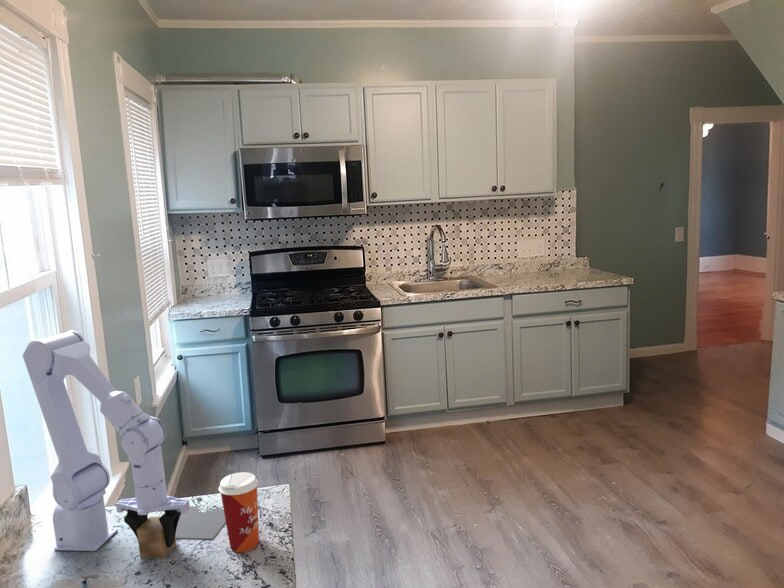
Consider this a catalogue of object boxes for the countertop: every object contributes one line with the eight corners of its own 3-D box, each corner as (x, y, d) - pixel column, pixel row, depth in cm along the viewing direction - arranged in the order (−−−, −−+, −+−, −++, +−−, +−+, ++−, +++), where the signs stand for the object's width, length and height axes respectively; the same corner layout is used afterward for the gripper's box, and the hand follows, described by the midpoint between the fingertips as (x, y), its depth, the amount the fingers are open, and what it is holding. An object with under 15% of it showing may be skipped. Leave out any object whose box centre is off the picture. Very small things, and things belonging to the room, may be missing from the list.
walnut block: (140, 557, 121) (136, 529, 120) (153, 543, 126) (149, 516, 125) (164, 558, 120) (160, 530, 119) (176, 544, 125) (172, 516, 124)
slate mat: (153, 538, 128) (153, 537, 128) (183, 506, 141) (183, 506, 141) (212, 539, 126) (212, 538, 126) (237, 507, 139) (237, 506, 139)
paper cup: (254, 556, 119) (247, 489, 117) (218, 554, 121) (210, 487, 118) (270, 535, 127) (264, 471, 124) (235, 532, 128) (229, 469, 126)
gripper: (103, 490, 118) (112, 555, 120) (174, 490, 116) (182, 556, 118) (124, 473, 125) (132, 535, 127) (191, 474, 123) (198, 536, 125)
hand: (157, 544), depth 123 cm, fingers closed on walnut block, 5 cm apart
